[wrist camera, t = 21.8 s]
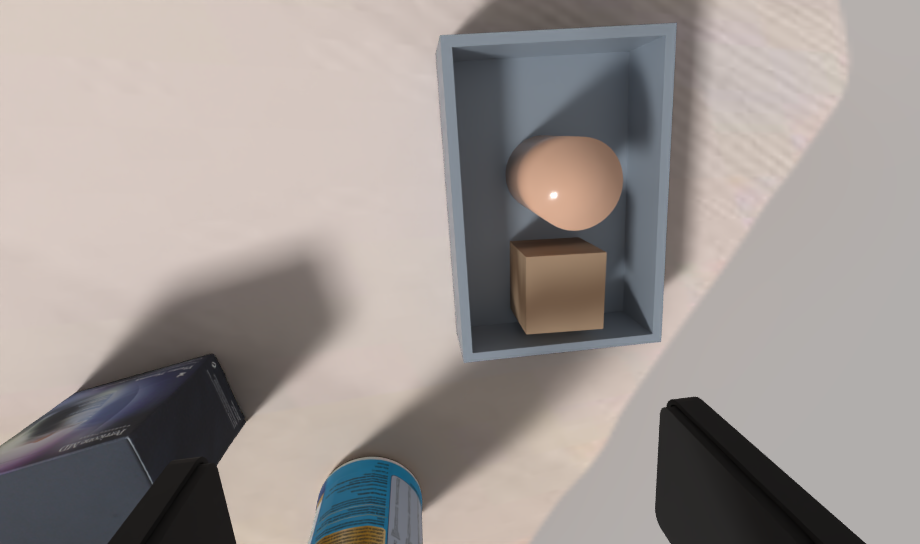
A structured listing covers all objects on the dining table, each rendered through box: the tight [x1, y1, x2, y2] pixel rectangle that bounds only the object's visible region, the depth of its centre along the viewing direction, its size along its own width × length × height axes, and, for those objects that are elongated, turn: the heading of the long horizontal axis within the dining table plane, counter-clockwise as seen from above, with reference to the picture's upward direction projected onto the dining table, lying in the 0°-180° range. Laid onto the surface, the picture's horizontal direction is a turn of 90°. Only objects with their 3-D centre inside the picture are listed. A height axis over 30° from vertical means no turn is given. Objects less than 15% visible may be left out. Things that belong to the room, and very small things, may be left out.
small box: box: [0, 354, 246, 544], centre depth 29 cm, size 11×6×10 cm, turn 106°
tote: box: [436, 23, 677, 363], centre depth 30 cm, size 19×13×5 cm
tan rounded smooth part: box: [505, 135, 623, 231], centre depth 28 cm, size 5×5×7 cm
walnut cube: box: [510, 237, 607, 334], centre depth 31 cm, size 5×5×5 cm
